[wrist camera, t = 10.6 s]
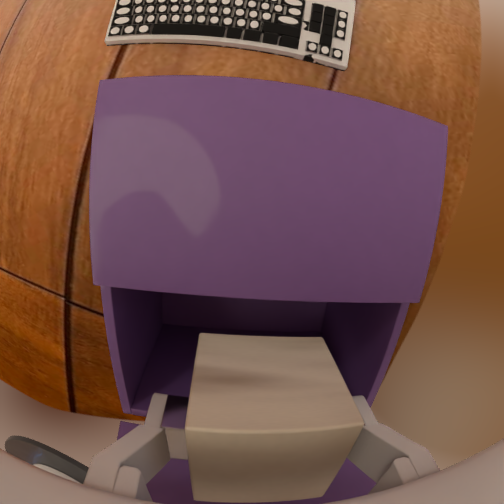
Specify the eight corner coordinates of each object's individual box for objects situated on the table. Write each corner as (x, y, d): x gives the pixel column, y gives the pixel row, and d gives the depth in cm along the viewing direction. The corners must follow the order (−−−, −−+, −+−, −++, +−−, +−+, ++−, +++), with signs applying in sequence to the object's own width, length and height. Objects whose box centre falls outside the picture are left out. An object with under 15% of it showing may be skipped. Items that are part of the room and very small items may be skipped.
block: (301, 416, 12) (323, 497, 7) (200, 415, 11) (193, 501, 7) (322, 335, 10) (366, 423, 6) (199, 331, 10) (184, 428, 6)
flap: (369, 425, 13) (367, 427, 13) (120, 420, 12) (121, 422, 12) (390, 542, 7) (387, 542, 7) (103, 549, 6) (106, 549, 6)
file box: (323, 333, 23) (370, 426, 13) (158, 325, 22) (119, 422, 12) (354, 138, 19) (449, 124, 9) (163, 119, 17) (98, 78, 8)
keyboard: (106, 45, 15) (98, 38, 14) (129, -17, 14) (123, -26, 12) (344, 71, 17) (352, 65, 16) (349, 7, 15) (356, -2, 14)
